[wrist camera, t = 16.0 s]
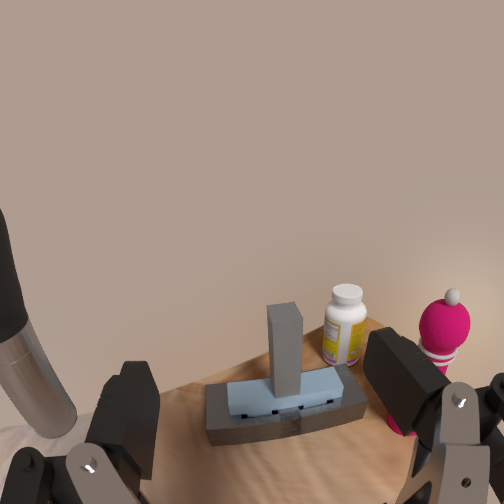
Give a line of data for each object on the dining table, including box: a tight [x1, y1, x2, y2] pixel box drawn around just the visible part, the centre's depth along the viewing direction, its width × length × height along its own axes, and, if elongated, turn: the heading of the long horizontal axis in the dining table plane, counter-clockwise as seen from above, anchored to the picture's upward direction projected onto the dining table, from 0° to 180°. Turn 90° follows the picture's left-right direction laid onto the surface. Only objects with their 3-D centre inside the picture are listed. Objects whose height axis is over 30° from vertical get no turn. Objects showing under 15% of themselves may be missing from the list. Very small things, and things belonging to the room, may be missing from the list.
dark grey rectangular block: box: [206, 363, 368, 446], centre depth 32 cm, size 20×8×4 cm, turn 97°
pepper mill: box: [388, 289, 470, 436], centre depth 25 cm, size 7×7×20 cm
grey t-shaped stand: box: [227, 302, 344, 418], centre depth 30 cm, size 14×4×16 cm, turn 96°
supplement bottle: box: [322, 284, 367, 366], centre depth 41 cm, size 7×7×13 cm
